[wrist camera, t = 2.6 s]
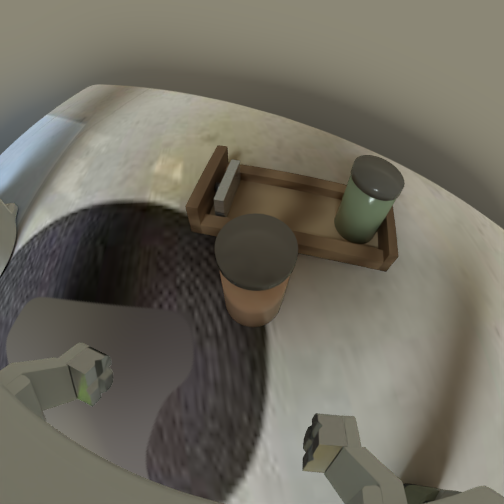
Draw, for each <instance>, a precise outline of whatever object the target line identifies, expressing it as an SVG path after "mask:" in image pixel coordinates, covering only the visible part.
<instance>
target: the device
mask: <svg viewBox="0 0 504 504" xmlns="http://www.w3.org/2000/svg"><path fill="white" fill-rule="evenodd" d="M403 486H404V491H405V495H406V499H407V504H424V503H428V502H432V501H435V500H439V499H443V498H446V497H449V496H453V495H456V494H459V493H462V492H459V491H452V490H443V489H438V488H432V487H426V486H419V485H414V484H403Z"/></svg>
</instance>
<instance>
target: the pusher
mask: <svg viewBox="0 0 504 504" xmlns="http://www.w3.org/2000/svg"><path fill="white" fill-rule="evenodd" d="M239 183H240V161H239V160H232V159H231V162H230V164H229V166H228V168H227V170H226V173H225V175H224V177H223V179H222V181H221V182H216V184H215V188H214V192H215V193H216V195H215V197H214V207H215V215H216V216H221V217H226V218H227V215H228V213H229V210H230V207H231V205H232V202H233V199H234V197H235V194H236V191H237V189H238V186H239Z"/></svg>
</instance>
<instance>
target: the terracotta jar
mask: <svg viewBox="0 0 504 504" xmlns="http://www.w3.org/2000/svg"><path fill="white" fill-rule="evenodd" d="M215 255H216V261H217V265H218V268H219V270H220V275H221V281H222V287H223V292H224V298H225V304H226V308H227V311H228V313H229V315H230V316H231V317H232V318H233V319H234V320H235V321H236V322H238V323H239V324H241V325H244V326H248V327H259V326H263V325H265V324H267V323H269V322H270V321H272V320H273V319H274V318H275V317H276V315H277V314H278V312H279V309H280V306H281V303H282V300H283V297H284V293H285V290H286V287H287V284H288V280H289V277H290V274H291V273H292V271H293V269H294V266H295V263H296V260H297V256H298V243H297V239H296V237H295V235H294V233H293V232H292V230H291V229H290V228H289V227H288V226H287V225H286V224H285V223H284V222H282V221H281V220H279V219H277V218H275V217H272V216H270V215H266V214H256V213H254V214H246V215H242V216H239V217H236V218H234V219H232V220H231V221H229V222H228V223H227V224H225V225H224V226H223V228H222V229H221V230H220V232H219V233H218V235H217V237H216V241H215Z"/></svg>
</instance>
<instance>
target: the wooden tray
mask: <svg viewBox="0 0 504 504" xmlns="http://www.w3.org/2000/svg"><path fill="white" fill-rule="evenodd" d="M229 164H230V163H228V148H227V147H226V146H217V148H216V149H215V151H214V153H213V155H212V157H211V158H210V160H209V162H208V164H207V166H206V168H205V170H204V171H203V173H202V175H201V177H200V179H199V181H198V183H197V185H196V187H195V189H194V191H193V193H192V195H191V197H190V198H189V200H188V202H187V205H186V211H187V215H188V219H189V223H190V227H191V230H192V232H196V233H201V234H206V235H211V236H216V237H217V235H218V233H219V232H220V230H221V229H222V228H223V226H224V225H225V224H227V223H228V222H229V221H231V220H232V219H234V218H236V217H239V216H242V215H246V214H254V213H256V214H266V215H270V216H272V217H275V218H277V219H279V220H281V221H282V222H284V223H285V224H286V225H287V226H288V227H289V228H290V229H291V230H292V232H293V233H294V235H295V237H296V239H297V243H298V253H300V254H305V255H310V256H315V257H320V258H324V259H329V260H334V261H339V262H344V263H348V264H353V265H358V266H363V267H367V268H372V269H377V270H381V271H387V270H388V269H389V267H390V266H391V265H392V264H393V263H394V261H395V260H396V259H397V258H398V248H397V237H396V228H395V220H394V212H393V205H392V207H391V209H390V210H389V212H388V214H387V216H386V217H385V219H384V221H383V222H382V224H381V226H380V227H379V229H378V231H377V232H376V234H375V236H374V237H373V239H372V240H371V241H369V242H368V243H364V244H356V243H352V242H350V241H348V240H346V239H344V238H343V237H342V236H341V235H340V234H339V233H338V231H337V230H336V228H335V224H334V218H335V215H336V213H337V210H338V208H339V205H340V203H341V200H342V197H343V195H344V192H345V189H346V187H347V185H344V184H339V183H335V182H331V181H326V180H322V179H317V178H313V177H308V176H303V175H298V174H293V173H288V172H282V171H277V170H271V169H266V168H260V167H253V166H247V165H241V164H240V183H239V186H238V189H237V191H236V194H235V197H234V199H233V202H232V205H231V207H230V210H229V213H228V215H227V218H226V217H221V216H216V215H215V207H214V197H215V195H216V193H215V192H214V188H215V184H216V182H221V181H222V179H223V177H224V175H225V173H226V170H227V168H228V166H229Z"/></svg>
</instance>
